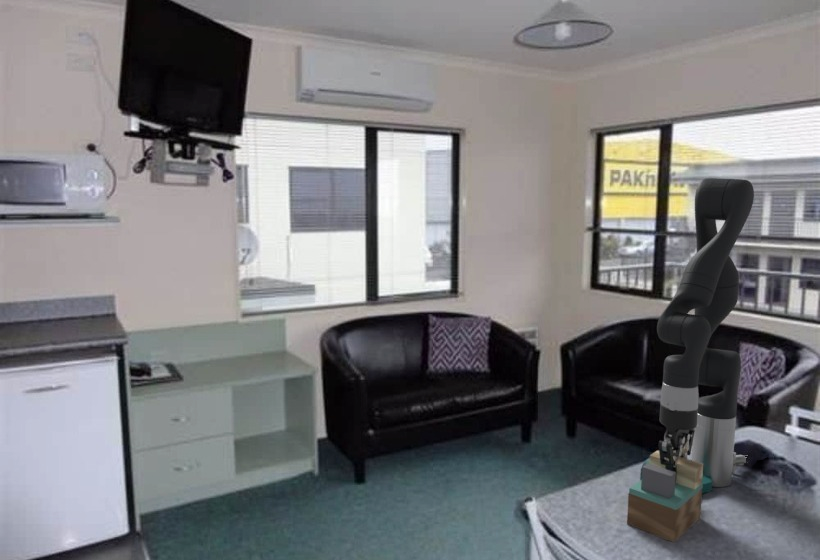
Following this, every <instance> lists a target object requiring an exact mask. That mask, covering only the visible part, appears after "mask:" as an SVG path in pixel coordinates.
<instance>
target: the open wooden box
mask: <svg viewBox="0 0 820 560" xmlns="http://www.w3.org/2000/svg"><path fill="white" fill-rule="evenodd" d="M702 494H703V493H702V489H701V490H699V491H698V492H697V493H696V494H695V495H694V496H692V497H691V498H690V499H689V500H688V501H687V502H685V503H684V504H683V505H682V506H681V507H680V508H678V509H677V510H674V509H672V508H669V507H666V506H663V505H661V504H658V503H655V502H652V501H649V500H647V499H644V498H641V497H638V496H635V495H633V494H630V493H629V492H628V495H627V496H628V498H627V499H628V501H627V516H626V517H627V519H626V520H627V521H626V524H627V525H628V526H629V525H630V526H631V525H632V527H634V528H636V529H639V530H641V531H644V532H647V533H650V534H652V535H654V536H657V537H659V538H662V539H664V540H666V541H670V542H671V543H675V542H676V541H677V540H679V539H680V538H681V536H682V535H683V534H685V533H686V532H687V531H688V530H689V529H690V528H691V527H693V525H694V524H695V523H697V521H699V520H700V519H701V511H702V498H703V495H702Z"/></svg>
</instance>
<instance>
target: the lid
mask: <svg viewBox="0 0 820 560" xmlns="http://www.w3.org/2000/svg"><path fill="white" fill-rule="evenodd" d="M641 468H642V480H640V479H639V481H637V482H636V483H634V484H633V485H632V486H630V487H629V488H628V494H629V493H630V494H633V495H635V496H638V497H641V498H644V499H647V500H649V501H652V502H655V503H658V504H661V505H663V506H666V507H669V508H672V509H674V510H677V509H678V508H680V507H681V506H682V505H683V504H684V503H685V502H687V501H688V500H689V499H690V498H691V497H692V496H694V495H695V494H696V493H697V492H698V491H699V490H701V489H702V488H703V482H702V484H701V485H700V486H698V487H697V488H696V489H692V488H689V487H686V486H683V485H680V484H677V483H675V478H676V472H674V471H671V470H667V469H664V468H661V467H658V466H655V465H651V464H648V463H647V464H646V465H644V466H643V467H642V466H641Z"/></svg>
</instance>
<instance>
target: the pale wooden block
mask: <svg viewBox="0 0 820 560" xmlns="http://www.w3.org/2000/svg"><path fill="white" fill-rule="evenodd" d="M649 458H650V463H649V464H651V465H655V466H658V467H661V468H664V469H665V466H666V465H662V464H661V463H660V454H659V449H658V450H656V451H654V452H652V453H651V454H650V455H649ZM673 459H674V456H673ZM702 476H703V464H702V463H699V462H696V461H692V459H688V458H687V459H685V458H682V457H679V458H678V463H677V473H676V482H675V483H677V484H680V485H683V486H686V487H689V488H692V489H696V488H697V487H698V486H700V485H701V484H702Z"/></svg>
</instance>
